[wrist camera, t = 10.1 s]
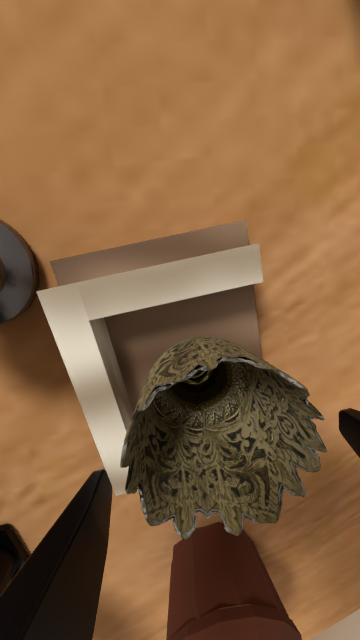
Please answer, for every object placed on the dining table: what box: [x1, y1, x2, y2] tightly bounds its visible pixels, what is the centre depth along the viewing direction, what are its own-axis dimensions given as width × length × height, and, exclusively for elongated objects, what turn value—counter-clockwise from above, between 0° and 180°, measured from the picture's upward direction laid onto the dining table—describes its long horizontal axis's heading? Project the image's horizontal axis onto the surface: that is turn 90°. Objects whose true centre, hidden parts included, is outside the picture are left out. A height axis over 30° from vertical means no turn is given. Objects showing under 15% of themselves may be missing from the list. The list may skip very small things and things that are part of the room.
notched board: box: [36, 220, 263, 496], centre depth 15 cm, size 17×12×4 cm
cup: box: [120, 336, 327, 540], centre depth 11 cm, size 8×7×8 cm
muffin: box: [166, 522, 302, 640], centre depth 18 cm, size 12×11×10 cm
